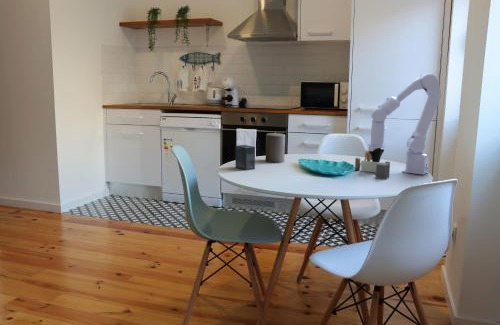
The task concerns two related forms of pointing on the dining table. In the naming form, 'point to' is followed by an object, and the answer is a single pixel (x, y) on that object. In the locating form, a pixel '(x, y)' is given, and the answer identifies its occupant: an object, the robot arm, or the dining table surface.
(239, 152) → the box
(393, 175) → the dining table surface
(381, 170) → the block
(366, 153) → the lion figurine
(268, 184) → the dining table surface
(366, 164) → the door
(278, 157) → the pillar candle
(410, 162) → the robot arm
